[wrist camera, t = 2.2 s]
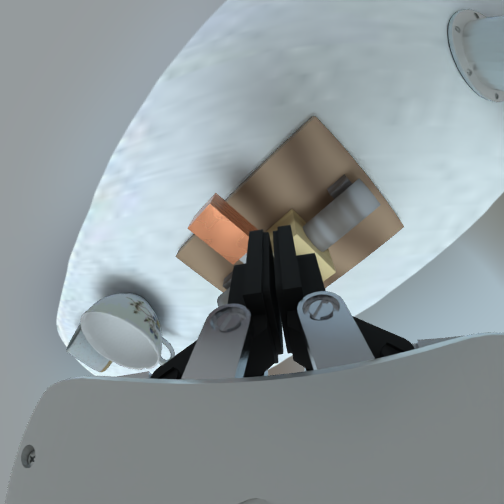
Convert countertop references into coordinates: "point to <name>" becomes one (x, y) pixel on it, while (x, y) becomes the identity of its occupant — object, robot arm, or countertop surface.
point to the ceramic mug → (86, 352)
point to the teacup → (125, 331)
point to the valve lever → (223, 229)
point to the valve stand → (306, 208)
